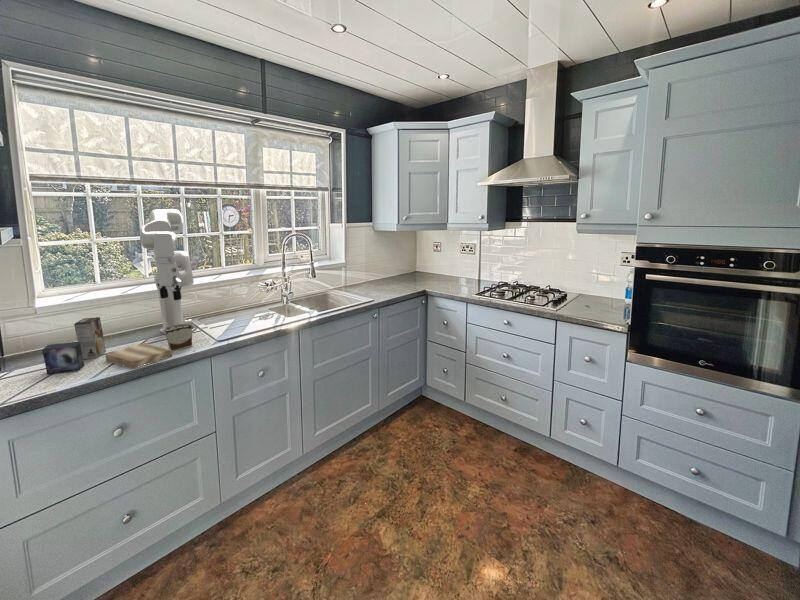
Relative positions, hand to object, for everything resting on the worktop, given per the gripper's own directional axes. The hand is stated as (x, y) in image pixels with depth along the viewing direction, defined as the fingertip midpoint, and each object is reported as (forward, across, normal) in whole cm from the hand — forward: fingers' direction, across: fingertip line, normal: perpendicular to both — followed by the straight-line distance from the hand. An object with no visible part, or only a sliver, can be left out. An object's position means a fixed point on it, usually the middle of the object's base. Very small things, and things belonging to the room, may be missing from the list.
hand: (171, 298), depth 180 cm
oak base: (+23, +1, +16) cm, 28 cm away
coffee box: (+23, +23, +24) cm, 40 cm away
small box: (+23, +14, +38) cm, 46 cm away
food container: (+23, 0, 0) cm, 23 cm away
